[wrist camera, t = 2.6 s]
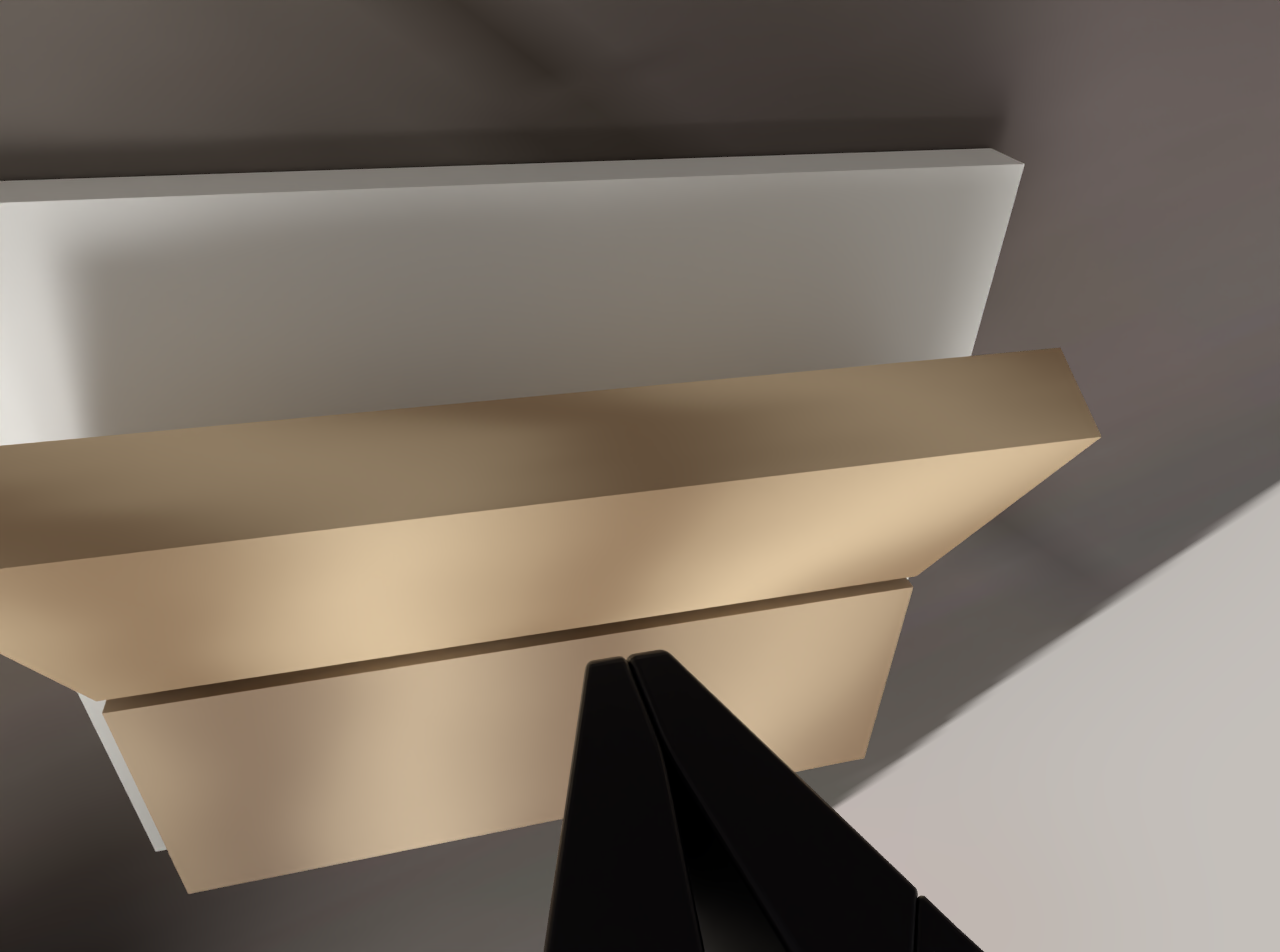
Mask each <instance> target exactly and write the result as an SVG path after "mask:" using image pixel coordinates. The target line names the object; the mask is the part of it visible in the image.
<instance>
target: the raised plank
mask: <svg viewBox="0 0 1280 952" xmlns="http://www.w3.org/2000/svg"><path fill="white" fill-rule="evenodd" d="M1100 437H1101V435H1100V432H1099V430H1098V428H1097V426H1096V424H1095V422H1094V420H1093V417H1092V415H1091V413H1090V411H1089V409H1088V407H1087V404H1086V402H1085V400H1084V398H1083V396H1082V394H1081V391H1080V389H1079V387H1078V385H1077V383H1076V381H1075V378H1074V376H1073V374H1072V372H1071V370H1070V368H1069V365H1068V363H1067V361H1066V359H1065V357H1064V355H1063V352H1062V350H1061V348H1052V349H1041V350H1031V351H1020V352H1009V353H998V354H987V355H976V356H966V357H955V358H944V359H933V360H922V361H911V362H901V363H890V364H879V365H868V366H857V367H846V368H836V369H825V370H814V371H803V372H792V373H781V374H771V375H760V376H749V377H738V378H727V379H717V380H706V381H695V382H684V383H673V384H662V385H652V386H641V387H630V388H619V389H608V390H597V391H587V392H576V393H565V394H554V395H543V396H532V397H522V398H511V399H500V400H489V401H478V402H467V403H457V404H446V405H435V406H424V407H413V408H402V409H392V410H381V411H370V412H359V413H348V414H338V415H327V416H316V417H305V418H294V419H283V420H273V421H262V422H251V423H240V424H229V425H218V426H208V427H197V428H186V429H175V430H164V431H153V432H143V433H132V434H121V435H110V436H99V437H88V438H78V439H67V440H56V441H45V442H34V443H23V444H13V445H2V446H0V654H2V655H4V656H6V657H8V658H10V659H12V660H14V661H16V662H18V663H20V664H22V665H24V666H26V667H28V668H30V669H32V670H34V671H36V672H38V673H40V674H42V675H44V676H46V677H48V678H50V679H52V680H54V681H56V682H58V683H60V684H62V685H64V686H66V687H68V688H70V689H72V690H74V691H76V692H78V693H80V694H82V695H84V696H86V697H88V698H90V699H92V700H94V701H102V700H109V699H115V698H122V697H129V696H135V695H142V694H148V693H155V692H161V691H168V690H174V689H181V688H187V687H194V686H200V685H207V684H214V683H220V682H227V681H233V680H240V679H246V678H253V677H259V676H266V675H272V674H279V673H285V672H292V671H299V670H305V669H312V668H318V667H325V666H331V665H338V664H344V663H351V662H357V661H364V660H370V659H377V658H384V657H390V656H397V655H403V654H410V653H416V652H423V651H429V650H436V649H442V648H449V647H455V646H462V645H469V644H475V643H482V642H488V641H495V640H501V639H508V638H514V637H521V636H527V635H534V634H540V633H547V632H554V631H560V630H567V629H573V628H580V627H586V626H593V625H599V624H606V623H612V622H619V621H625V620H632V619H639V618H645V617H652V616H658V615H665V614H671V613H678V612H684V611H691V610H697V609H704V608H710V607H717V606H724V605H730V604H737V603H743V602H750V601H756V600H763V599H769V598H776V597H782V596H789V595H795V594H802V593H809V592H815V591H822V590H828V589H835V588H841V587H848V586H854V585H861V584H867V583H874V582H880V581H887V580H894V579H900V578H907V577H913V576H917V575H918V574H920V573H921V572H922V571H924V570H925V569H926V568H928V567H929V566H930V565H932V564H933V563H934V562H936V561H937V560H938V559H940V558H941V557H942V556H944V555H945V554H946V553H948V552H949V551H950V550H952V549H953V548H954V547H956V546H957V545H958V544H960V543H961V542H962V541H964V540H965V539H966V538H968V537H969V536H970V535H972V534H973V533H974V532H976V531H977V530H978V529H980V528H981V527H982V526H984V525H985V524H986V523H988V522H989V521H990V520H991V519H993V518H994V517H995V516H997V515H998V514H999V513H1001V512H1002V511H1003V510H1005V509H1006V508H1007V507H1009V506H1010V505H1011V504H1013V503H1014V502H1015V501H1017V500H1018V499H1019V498H1021V497H1022V496H1023V495H1025V494H1026V493H1027V492H1029V491H1030V490H1031V489H1033V488H1034V487H1035V486H1037V485H1038V484H1039V483H1041V482H1042V481H1043V480H1045V479H1046V478H1047V477H1049V476H1050V475H1051V474H1053V473H1054V472H1055V471H1057V470H1058V469H1059V468H1061V467H1062V466H1063V465H1065V464H1066V463H1067V462H1069V461H1070V460H1071V459H1073V458H1074V457H1075V456H1077V455H1078V454H1079V453H1081V452H1082V451H1083V450H1085V449H1086V448H1087V447H1089V446H1090V445H1091V444H1092V443H1094V442H1095V441H1096V440H1098V439H1099V438H1100Z"/></svg>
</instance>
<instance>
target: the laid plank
mask: <svg viewBox="0 0 1280 952" xmlns="http://www.w3.org/2000/svg"><path fill="white" fill-rule="evenodd" d="M912 590H913V586H912V585H911V583H910V582H909V581H908V579H907V578H900V579H894V580H887V581H880V582H874V583H867V584H861V585H854V586H848V587H841V588H835V589H828V590H822V591H815V592H809V593H802V594H795V595H789V596H782V597H776V598H769V599H763V600H756V601H750V602H743V603H737V604H730V605H724V606H717V607H710V608H704V609H697V610H691V611H684V612H678V613H671V614H665V615H658V616H652V617H645V618H639V619H632V620H625V621H619V622H612V623H606V624H599V625H593V626H586V627H580V628H573V629H567V630H560V631H554V632H547V633H540V634H534V635H527V636H521V637H514V638H508V639H501V640H495V641H488V642H482V643H475V644H469V645H462V646H455V647H449V648H442V649H436V650H429V651H423V652H416V653H410V654H403V655H397V656H390V657H384V658H377V659H370V660H364V661H357V662H351V663H344V664H338V665H331V666H325V667H318V668H312V669H305V670H299V671H292V672H285V673H279V674H272V675H266V676H259V677H253V678H246V679H240V680H233V681H227V682H220V683H214V684H207V685H200V686H194V687H187V688H181V689H174V690H168V691H161V692H155V693H148V694H142V695H135V696H129V697H122V698H115V699H109V700H106V702H105V706H104V709H103V712H102V715H103V717H104V719H105V721H106V723H107V725H108V727H109V729H110V731H111V733H112V735H113V738H114V740H115V742H116V744H117V746H118V748H119V750H120V752H121V754H122V756H123V759H124V761H125V763H126V765H127V767H128V769H129V771H130V773H131V775H132V777H133V779H134V782H135V784H136V786H137V788H138V790H139V792H140V794H141V796H142V798H143V800H144V802H145V805H146V807H147V809H148V811H149V813H150V815H151V817H152V819H153V821H154V823H155V826H156V828H157V830H158V832H159V834H160V836H161V838H162V840H163V842H164V844H165V846H166V849H167V851H168V853H169V855H170V857H171V859H172V861H173V863H174V865H175V867H176V869H177V872H178V874H179V876H180V878H181V880H182V882H183V884H184V886H185V888H186V890H187V892H188V894H191V893H196V892H201V891H206V890H211V889H216V888H221V887H226V886H231V885H236V884H241V883H246V882H251V881H256V880H261V879H266V878H271V877H276V876H281V875H286V874H291V873H296V872H301V871H306V870H311V869H315V868H320V867H325V866H330V865H335V864H340V863H345V862H350V861H355V860H360V859H365V858H370V857H375V856H380V855H385V854H390V853H395V852H400V851H405V850H410V849H415V848H420V847H425V846H430V845H435V844H440V843H445V842H450V841H455V840H460V839H465V838H469V837H474V836H479V835H484V834H489V833H494V832H499V831H504V830H509V829H514V828H519V827H524V826H529V825H534V824H539V823H544V822H549V821H554V820H559V819H563V816H564V809H565V802H566V795H567V788H568V782H569V775H570V768H571V761H572V754H573V747H574V740H575V734H576V727H577V720H578V713H579V706H580V699H581V693H582V686H583V679H584V672H585V667H586V665H587V663H588V662H589V661H592V660H598V659H604V658H610V657H616V656H622V657H624V658H625V659H626V660H627V658H628V657H629V656H630V655H631V654H634V653H641V652H647V651H653V650H665V651H668V652H669V653H670V654H672V655H673V656H674V657H675V658H676V659H677V660H678V661H679V662H680V663H681V664H682V665H683V666H684V667H685V668H686V669H687V670H688V671H689V672H690V673H691V674H693V675H694V676H695V677H696V678H697V679H698V680H699V681H700V682H701V683H702V684H703V685H704V686H705V687H706V688H707V689H708V690H709V691H710V692H711V693H712V694H713V695H714V696H716V697H717V698H718V699H719V700H720V701H721V702H722V703H723V704H724V705H725V706H726V707H727V708H728V709H729V710H730V711H731V712H732V713H733V714H734V715H735V716H736V717H737V718H739V719H740V720H741V721H742V722H743V723H744V724H745V725H746V726H747V727H748V728H749V729H750V730H751V731H752V732H753V733H754V734H755V735H756V736H757V737H758V738H759V739H760V740H762V741H763V742H764V743H765V744H766V745H767V746H768V747H769V748H770V749H771V750H772V751H773V752H774V753H775V754H776V755H777V756H778V757H779V758H780V759H781V760H782V761H783V762H785V763H786V764H787V765H788V766H789V767H790V768H791V769H792V770H793V771H794V772H797V771H802V770H807V769H812V768H817V767H822V766H827V765H832V764H837V763H842V762H847V761H852V760H857V759H862V758H864V757H865V753H866V750H867V747H868V743H869V740H870V736H871V733H872V729H873V726H874V722H875V719H876V715H877V712H878V708H879V705H880V701H881V698H882V694H883V691H884V687H885V684H886V680H887V677H888V673H889V670H890V666H891V663H892V659H893V656H894V652H895V649H896V645H897V642H898V638H899V635H900V631H901V628H902V624H903V621H904V617H905V614H906V610H907V607H908V604H909V600H910V597H911V593H912Z"/></svg>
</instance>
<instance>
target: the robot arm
mask: <svg viewBox="0 0 1280 952" xmlns="http://www.w3.org/2000/svg"><path fill="white" fill-rule="evenodd" d="M917 896H918V893H917V889H916V888H915V887H914V886H913V885H912V884H911V883H910V882H909V881H908V880H907V879H906V878H905V877H904V876H903V875H902V874H901V873H900V872H898V871H897V870H896V869H895V868H894V867H893V866H892V865H891V864H890V863H889V862H888V861H887V860H886V859H885V858H884V857H883V856H882V855H881V854H880V853H878V851H877V850H875V849H874V848H873V847H872V846H871V845H870V844H869V843H868V842H867V841H866V840H865V839H864V838H863V837H862V836H861V835H860V834H859V833H858V832H856V830H855V829H853V828H852V827H851V826H850V825H849V824H848V823H847V822H846V821H845V820H844V819H843V818H842V817H841V816H840V815H839V814H838V813H837V812H836V811H835V810H834V809H833V808H832V807H831V806H829V805H828V804H827V803H826V802H825V801H824V800H823V799H822V798H821V797H820V796H819V795H818V794H817V793H816V792H815V791H814V790H813V789H812V788H811V787H810V786H809V785H808V784H806V783H805V782H804V781H803V780H802V779H801V778H800V777H799V776H798V775H797V774H796V773H795V772H794V771H793V770H792V769H791V768H790V767H789V766H788V765H787V764H786V763H785V762H783V761H782V760H781V759H780V758H779V757H778V756H777V755H776V754H775V753H774V752H773V751H772V750H771V749H770V748H769V747H768V746H767V745H766V744H765V743H764V742H763V741H762V740H760V739H759V738H758V737H757V736H756V735H755V734H754V733H753V732H752V731H751V730H750V729H749V728H748V727H747V726H746V725H745V724H744V723H743V722H742V721H741V720H740V719H739V718H737V717H736V716H735V715H734V714H733V713H732V712H731V711H730V710H729V709H728V708H727V707H726V706H725V705H724V704H723V703H722V702H721V701H720V700H719V699H718V698H717V697H716V696H714V695H713V694H712V693H711V692H710V691H709V690H708V689H707V688H706V687H705V686H704V685H703V684H702V683H701V682H700V681H699V680H698V679H697V678H696V677H695V676H694V675H693V674H691V673H690V672H689V671H688V670H687V669H686V668H685V667H684V666H683V665H682V664H681V663H680V662H679V661H678V660H677V659H676V658H675V657H674V656H673V655H672V654H670V653H669V652H668V651H665V650H653V651H647V652H641V653H634V654H631V655H630V656H629V657H628V658H627V660H626V659H625V658H624V657H622V656H616V657H610V658H604V659H598V660H592V661H589V662H588V663H587V665H586V667H585V672H584V679H583V686H582V693H581V699H580V706H579V713H578V720H577V727H576V734H575V740H574V747H573V754H572V761H571V768H570V775H569V782H568V788H567V795H566V802H565V809H564V816H563V823H562V829H561V836H560V843H559V850H558V857H557V864H556V870H555V877H554V884H553V891H552V898H551V905H550V911H549V918H548V925H547V932H546V939H545V946H544V952H984V951H983V950H981V949H980V948H979V947H978V946H977V945H976V944H975V943H974V942H973V941H972V940H970V939H969V938H968V937H967V936H966V935H965V934H964V933H963V932H962V931H961V930H960V929H958V928H957V927H956V926H955V925H954V924H953V923H952V922H951V921H950V920H949V919H948V918H947V917H946V916H945V915H944V914H943V913H942V912H940V911H939V909H937V908H936V907H935V906H934V905H933V904H932V903H931V902H930V901H929V900H928V899H927V898H926V897H925V896H919V897H918V898H917Z"/></svg>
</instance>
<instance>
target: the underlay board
mask: <svg viewBox="0 0 1280 952" xmlns="http://www.w3.org/2000/svg"><path fill="white" fill-rule="evenodd" d="M1024 165H1025V164H1024V163H1022V162H1019V161H1017V160H1015V159H1013V158H1011V157H1009V156H1007V155H1005V154H1002V153H1000V152H998V151H996V150H994V149H992V148H984V149H954V150H924V151H893V152H863V153H833V154H803V155H772V156H742V157H712V158H682V159H651V160H621V161H591V162H561V163H530V164H500V165H470V166H440V167H409V168H379V169H349V170H319V171H289V172H258V173H228V174H198V175H168V176H137V177H107V178H77V179H47V180H16V181H0V446H2V445H13V444H23V443H34V442H45V441H56V440H67V439H78V438H88V437H99V436H110V435H121V434H132V433H143V432H153V431H164V430H175V429H186V428H197V427H208V426H218V425H229V424H240V423H251V422H262V421H273V420H283V419H294V418H305V417H316V416H327V415H338V414H348V413H359V412H370V411H381V410H392V409H402V408H413V407H424V406H435V405H446V404H457V403H467V402H478V401H489V400H500V399H511V398H522V397H532V396H543V395H554V394H565V393H576V392H587V391H597V390H608V389H619V388H630V387H641V386H652V385H662V384H673V383H684V382H695V381H706V380H717V379H727V378H738V377H749V376H760V375H771V374H781V373H792V372H803V371H814V370H825V369H836V368H846V367H857V366H868V365H879V364H890V363H901V362H911V361H922V360H933V359H944V358H955V357H966V356H971V354H972V350H973V347H974V343H975V340H976V336H977V332H978V329H979V325H980V322H981V318H982V315H983V311H984V307H985V304H986V300H987V297H988V293H989V290H990V286H991V282H992V279H993V275H994V272H995V268H996V265H997V261H998V258H999V254H1000V250H1001V247H1002V243H1003V240H1004V236H1005V233H1006V229H1007V225H1008V222H1009V218H1010V215H1011V211H1012V208H1013V204H1014V200H1015V197H1016V193H1017V190H1018V186H1019V183H1020V179H1021V176H1022V172H1023V168H1024ZM908 578H909V577H907V579H908ZM77 693H78V692H77ZM78 695H79V697H80V699H81V701H82V703H83V705H84V707H85V709H86V711H87V713H88V715H89V717H90V719H91V721H92V723H93V725H94V727H95V729H96V731H97V733H98V735H99V737H100V739H101V741H102V743H103V746H104V748H105V750H106V752H107V754H108V756H109V758H110V760H111V762H112V764H113V766H114V768H115V770H116V772H117V774H118V776H119V778H120V780H121V782H122V784H123V786H124V788H125V790H126V792H127V794H128V796H129V798H130V800H131V802H132V804H133V807H134V809H135V811H136V813H137V815H138V817H139V819H140V821H141V823H142V825H143V827H144V829H145V831H146V833H147V835H148V837H149V839H150V841H151V843H152V845H153V847H154V849H155V851H156V852H157V851H162V850H167V849H166V846H165V844H164V842H163V840H162V838H161V836H160V834H159V832H158V830H157V828H156V826H155V823H154V821H153V819H152V817H151V815H150V813H149V811H148V809H147V807H146V805H145V802H144V800H143V798H142V796H141V794H140V792H139V790H138V788H137V786H136V784H135V782H134V779H133V777H132V775H131V773H130V771H129V769H128V767H127V765H126V763H125V761H124V759H123V756H122V754H121V752H120V750H119V748H118V746H117V744H116V742H115V740H114V738H113V735H112V733H111V731H110V729H109V727H108V725H107V723H106V721H105V719H104V717H103V715H102V712H103V709H104V706H105V702H106V700H102V701H94V700H92V699H90V698H88V697H86V696H84V695H82V694H80V693H78Z"/></svg>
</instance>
